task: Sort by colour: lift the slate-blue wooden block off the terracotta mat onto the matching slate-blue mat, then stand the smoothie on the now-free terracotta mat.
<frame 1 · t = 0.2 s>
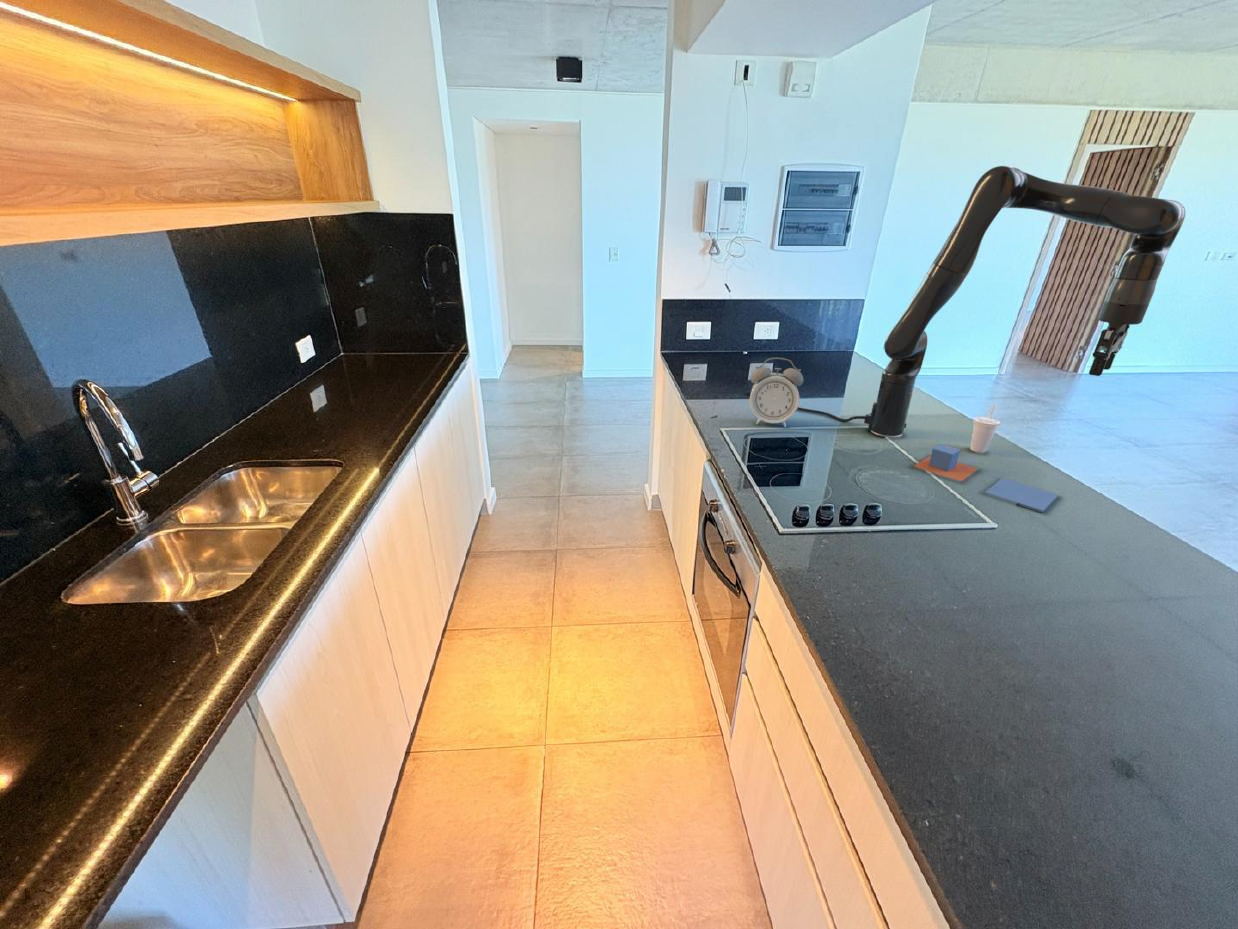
hand: (1099, 371, 124), 29 cm above the worktop, tool pointing down, fingers open, 8 cm apart
blue mat: (1020, 495, 129), on the worktop
alarm clock: (771, 423, 176), on the worktop
terracotta mat: (945, 469, 143), on the worktop
smoothie: (977, 452, 154), on the worktop
blue block: (941, 466, 143), point 1 cm above the worktop, touching terracotta mat
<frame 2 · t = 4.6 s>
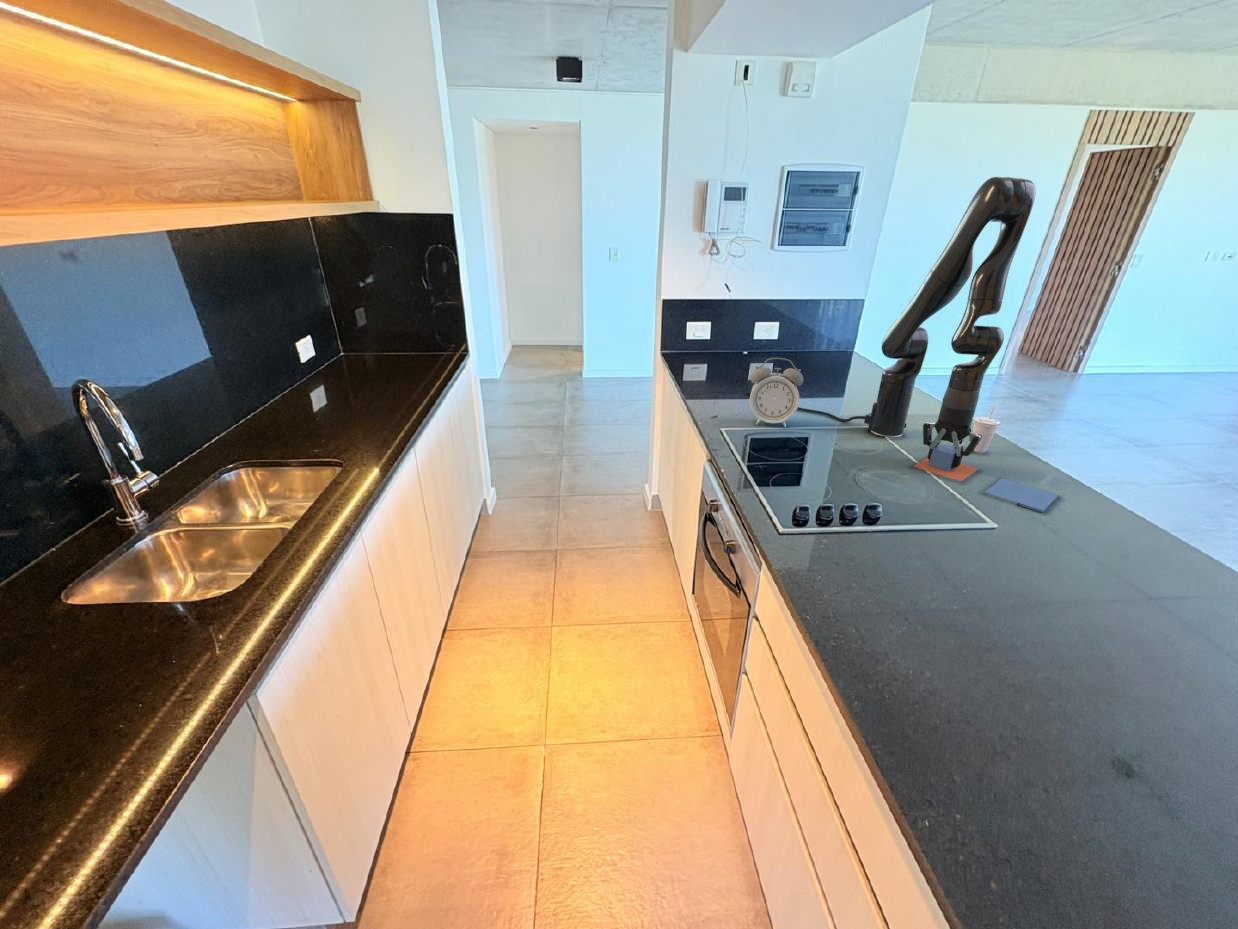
hand: (942, 464, 143), 1 cm above the worktop, tool pointing down, fingers closed on blue block, 5 cm apart
blue block: (942, 466, 143), point 1 cm above the worktop, touching gripper, terracotta mat
everything else where it was.
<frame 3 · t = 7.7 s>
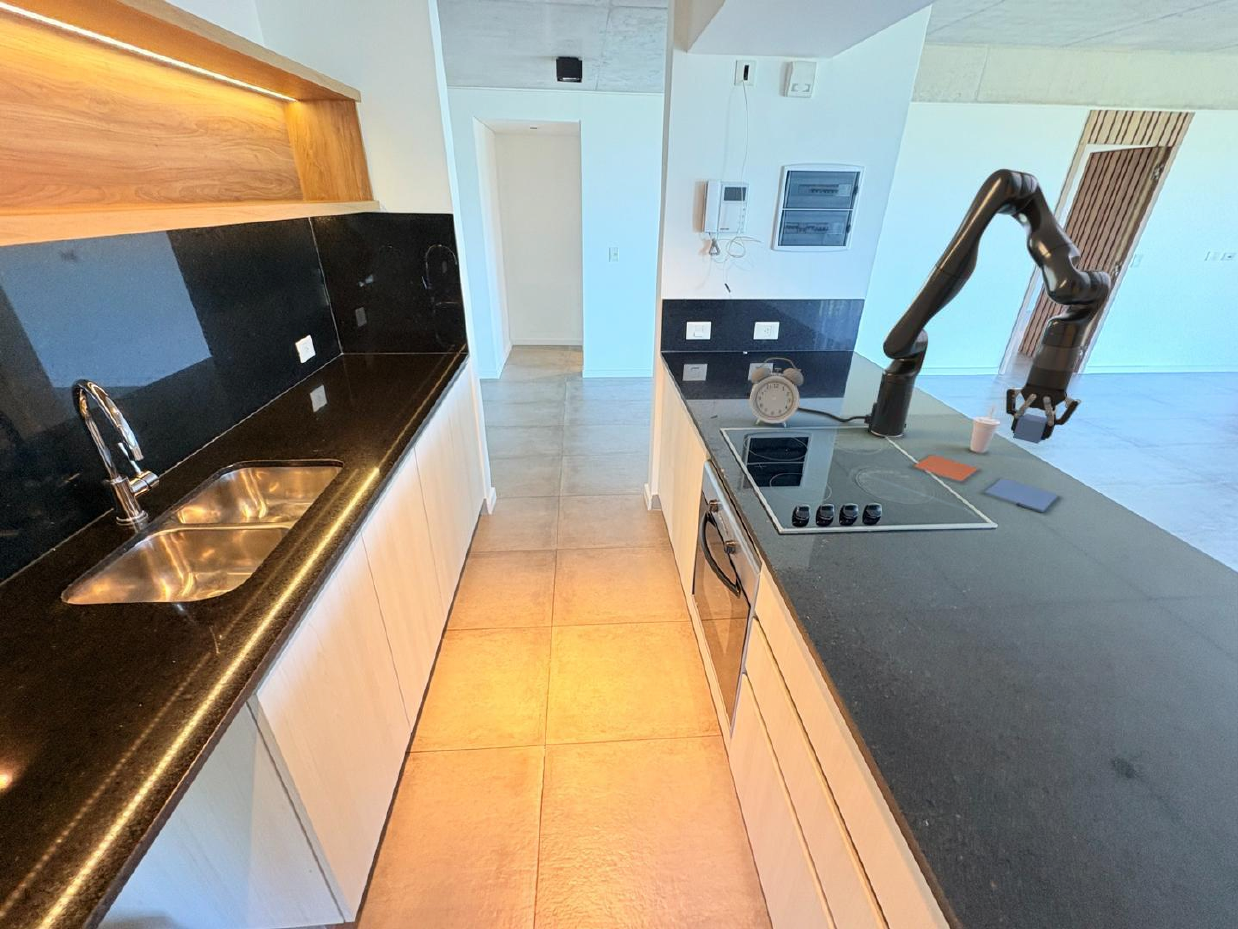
hand: (1029, 435, 124), 15 cm above the worktop, tool pointing down, fingers closed on blue block, 5 cm apart
blue block: (1028, 438, 125), point 14 cm above the worktop, touching gripper
everything else where it was.
when the fingers open (1 cm above the worktop, at t = 11.3 s): blue block stays where it is, resting on blue mat.
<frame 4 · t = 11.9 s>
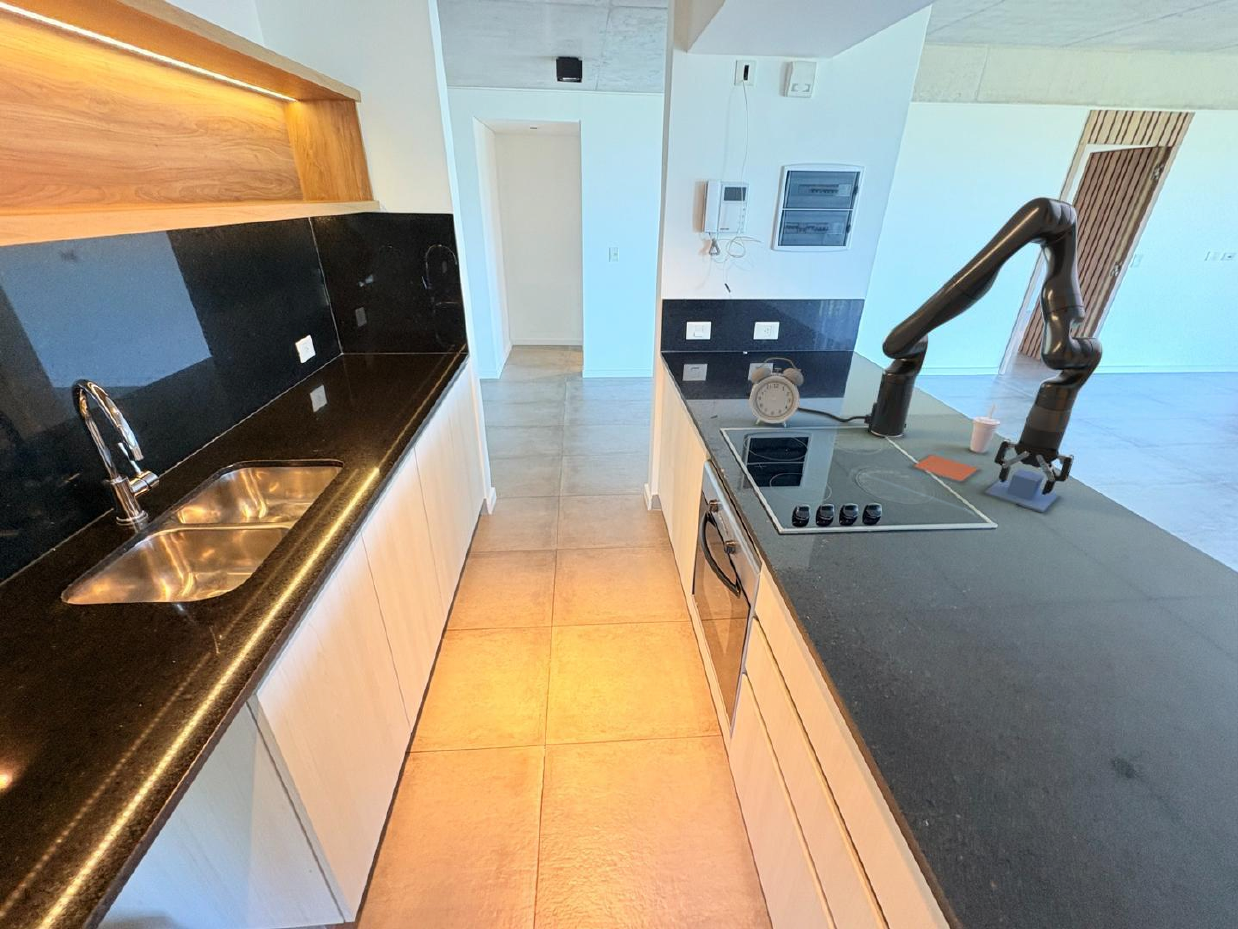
hand: (1023, 487, 128), 2 cm above the worktop, tool pointing down, fingers open, 8 cm apart
blue block: (1021, 493, 129), point 1 cm above the worktop, touching blue mat
everything else where it was.
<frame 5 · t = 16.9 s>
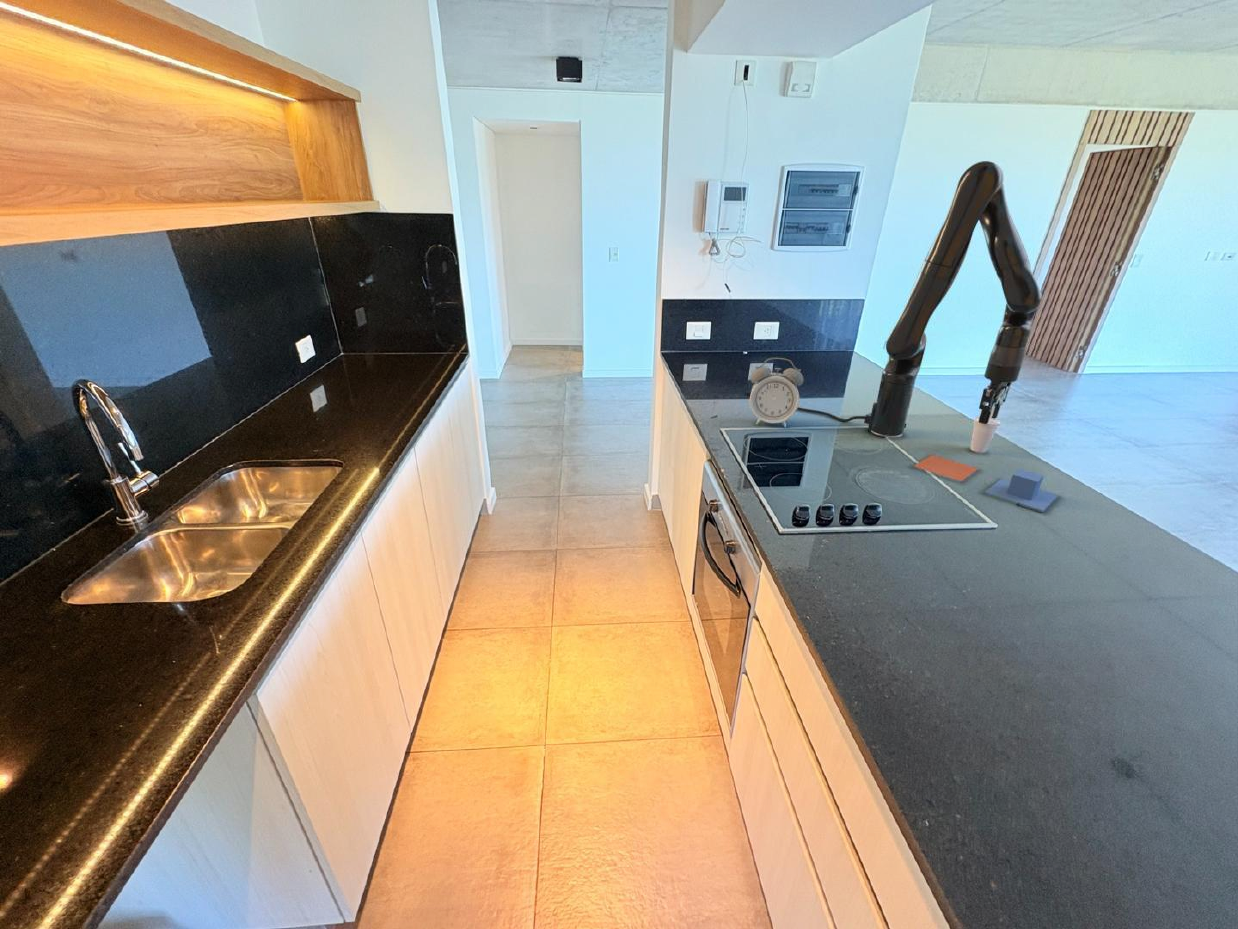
hand: (987, 420, 149), 10 cm above the worktop, tool pointing down, fingers closed on smoothie, 6 cm apart
smoothie: (977, 452, 154), on the worktop, touching gripper
everything else where it was.
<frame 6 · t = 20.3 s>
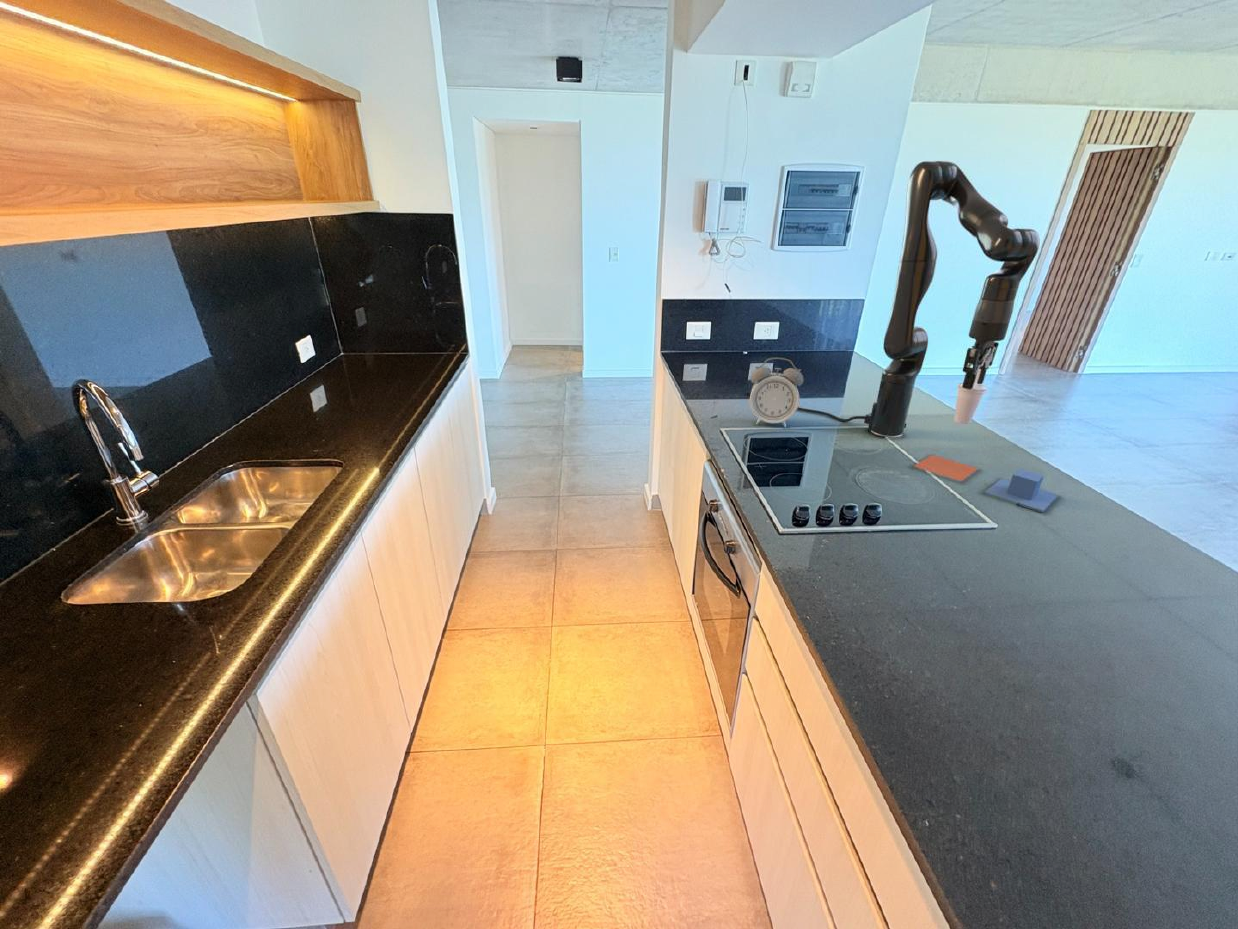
hand: (972, 385, 134), 23 cm above the worktop, tool pointing down, fingers closed on smoothie, 6 cm apart
smoothie: (961, 422, 139), point 13 cm above the worktop, touching gripper
everything else where it was.
when the fingers open (10 cm above the worktop, at t = 23.8 s): smoothie stays where it is, resting on terracotta mat.
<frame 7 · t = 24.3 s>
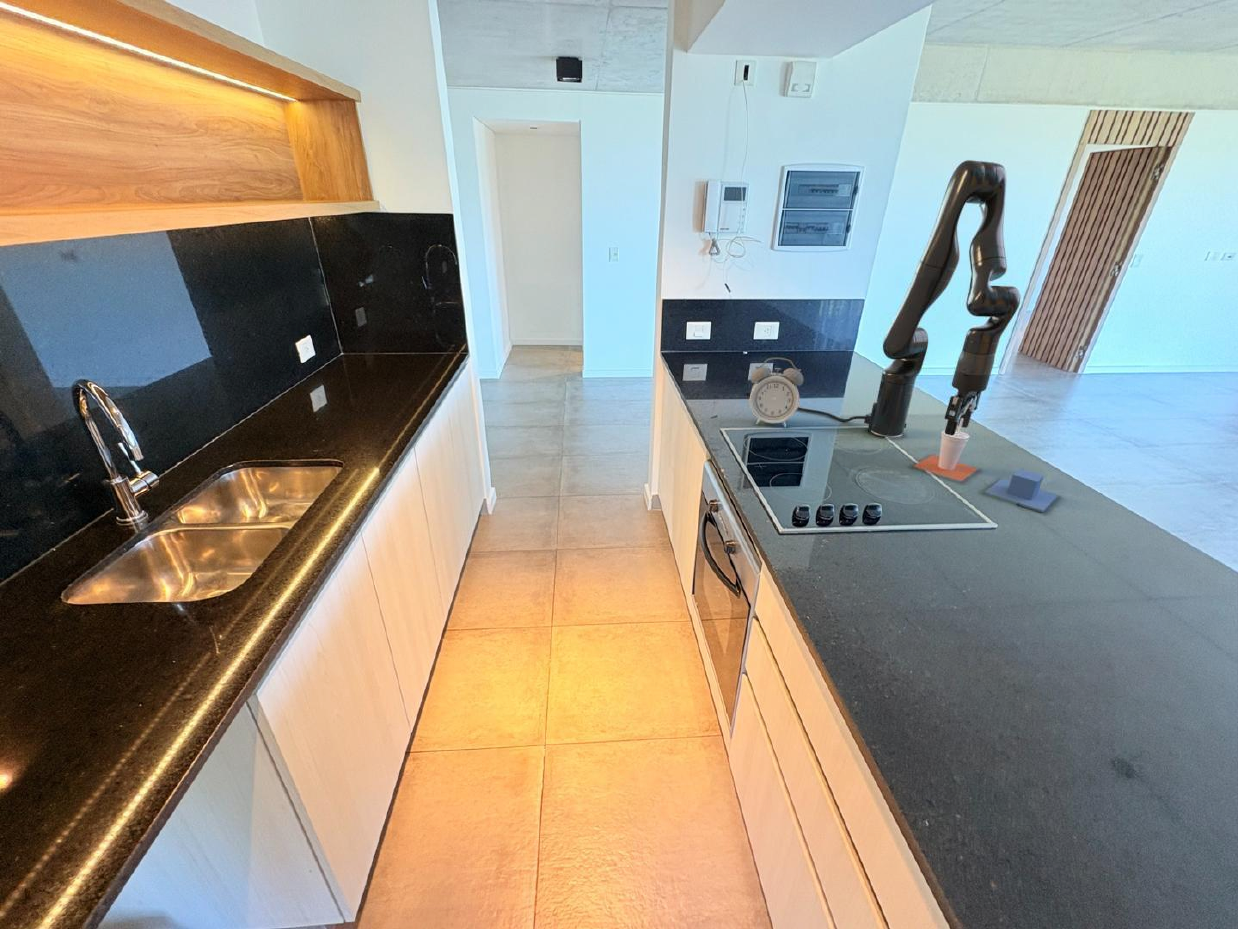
hand: (956, 430, 138), 11 cm above the worktop, tool pointing down, fingers open, 8 cm apart
smoothie: (945, 467, 143), resting on terracotta mat
everything else where it was.
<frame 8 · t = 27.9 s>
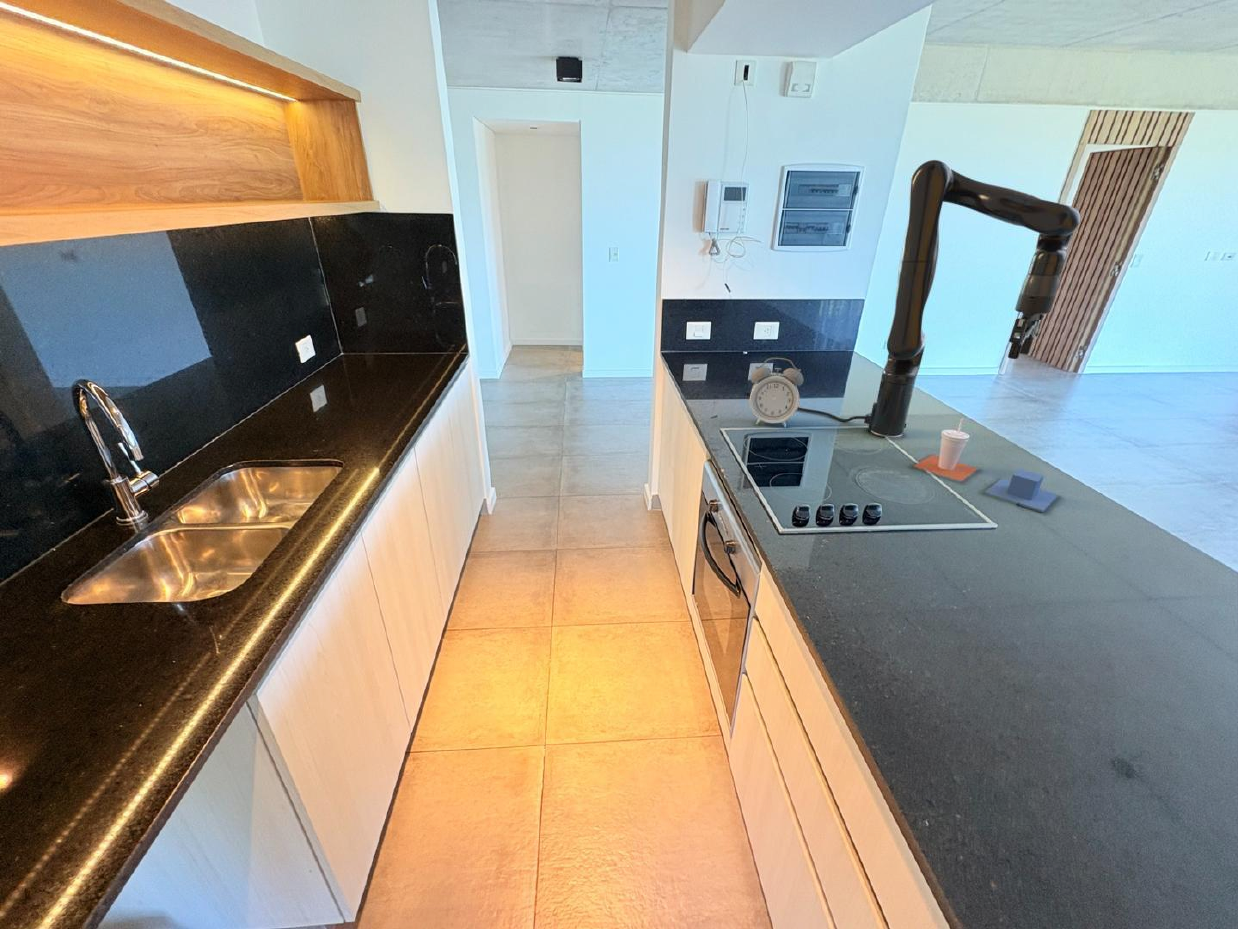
hand: (1018, 355, 142), 28 cm above the worktop, tool pointing down, fingers open, 8 cm apart
nothing on the worktop moved.
at the end: blue block inside the target area on the blue mat (0.1 cm from its centre), point 0.6 cm above the blue mat's base; smoothie inside the target area on the terracotta mat (0.0 cm from its centre), point 0.4 cm above the terracotta mat's base; smoothie tilted 0° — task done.
